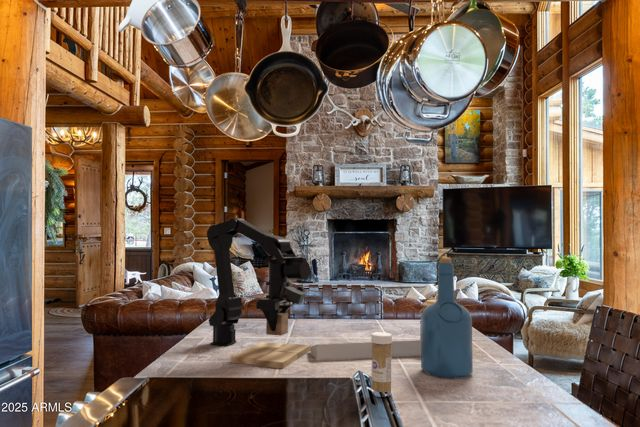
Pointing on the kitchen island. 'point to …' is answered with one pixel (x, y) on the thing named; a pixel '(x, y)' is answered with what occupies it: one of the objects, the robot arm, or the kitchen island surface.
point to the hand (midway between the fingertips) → (277, 329)
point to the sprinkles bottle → (381, 361)
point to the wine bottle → (446, 331)
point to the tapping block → (279, 325)
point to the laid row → (283, 355)
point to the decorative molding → (363, 350)
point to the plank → (254, 353)
